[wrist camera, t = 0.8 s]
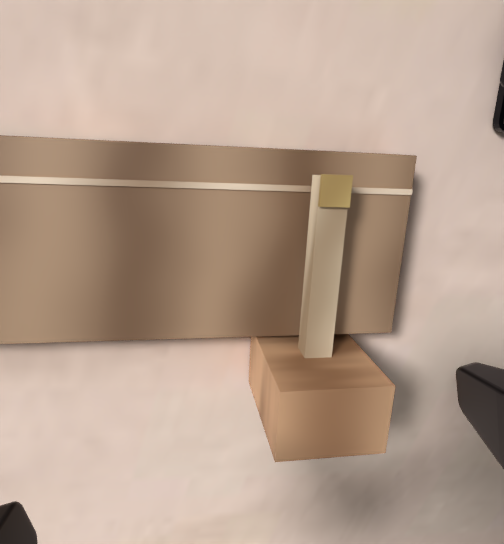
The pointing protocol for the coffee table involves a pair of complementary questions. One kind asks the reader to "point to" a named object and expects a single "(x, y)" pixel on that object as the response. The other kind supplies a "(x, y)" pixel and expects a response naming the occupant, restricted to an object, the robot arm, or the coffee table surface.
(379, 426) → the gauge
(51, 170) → the board
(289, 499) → the coffee table surface
